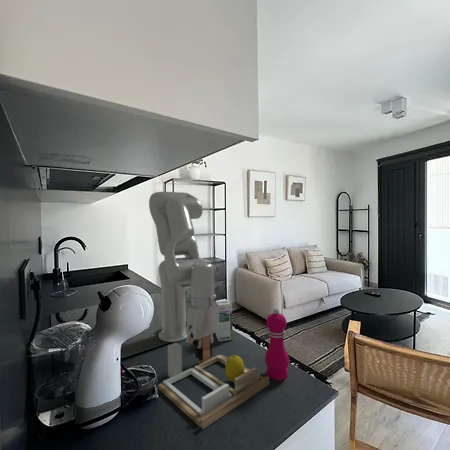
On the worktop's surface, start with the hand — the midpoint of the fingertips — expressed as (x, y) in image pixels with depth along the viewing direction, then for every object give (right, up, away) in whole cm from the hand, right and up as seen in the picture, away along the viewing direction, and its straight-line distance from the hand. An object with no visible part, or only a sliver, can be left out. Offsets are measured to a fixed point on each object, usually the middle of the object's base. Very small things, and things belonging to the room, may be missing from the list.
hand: (203, 356), depth 87 cm
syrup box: (+7, -2, +19) cm, 20 cm away
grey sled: (-2, -2, -14) cm, 14 cm away
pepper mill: (+23, -2, -7) cm, 24 cm away
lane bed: (+3, -3, -12) cm, 13 cm away
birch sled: (+6, -2, -7) cm, 9 cm away
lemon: (+10, -3, -11) cm, 15 cm away
